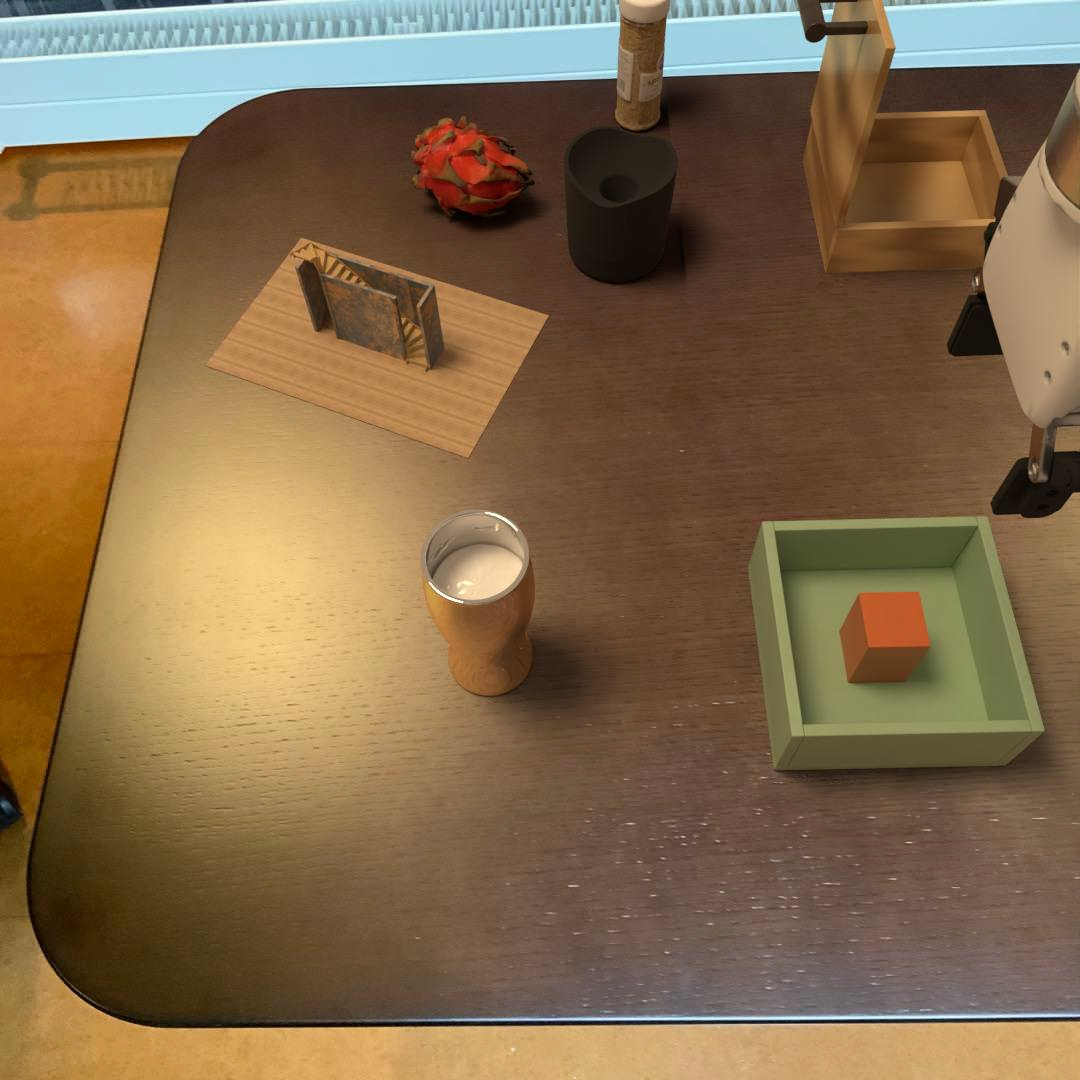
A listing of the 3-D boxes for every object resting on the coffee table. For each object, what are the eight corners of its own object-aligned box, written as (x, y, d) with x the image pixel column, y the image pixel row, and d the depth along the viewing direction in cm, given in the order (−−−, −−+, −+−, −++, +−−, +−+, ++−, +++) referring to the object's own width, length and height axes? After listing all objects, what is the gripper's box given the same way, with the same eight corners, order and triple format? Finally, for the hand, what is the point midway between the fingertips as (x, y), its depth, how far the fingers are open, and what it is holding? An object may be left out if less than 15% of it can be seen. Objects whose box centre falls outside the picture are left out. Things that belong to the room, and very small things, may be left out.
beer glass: (427, 684, 74) (397, 586, 62) (464, 601, 78) (443, 492, 65) (518, 715, 73) (508, 622, 60) (552, 630, 76) (549, 524, 63)
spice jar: (659, 133, 103) (671, 4, 91) (613, 132, 103) (618, 3, 92) (660, 103, 105) (671, -27, 94) (614, 102, 106) (620, -28, 94)
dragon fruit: (412, 192, 102) (527, 233, 101) (383, 201, 94) (507, 245, 94) (434, 101, 98) (554, 143, 98) (405, 103, 91) (534, 148, 90)
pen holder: (631, 199, 99) (637, 108, 90) (688, 261, 94) (700, 172, 86) (545, 237, 96) (542, 148, 88) (599, 303, 92) (602, 215, 84)
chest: (964, 161, 100) (985, 109, 95) (1000, 274, 93) (1025, 224, 88) (800, 166, 100) (813, 114, 95) (823, 279, 93) (838, 229, 88)
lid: (861, -72, 81) (792, -70, 81) (896, 47, 73) (820, 50, 73) (817, 110, 95) (759, 112, 95) (843, 225, 88) (779, 227, 88)
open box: (956, 563, 78) (987, 515, 72) (1005, 765, 71) (1045, 731, 65) (747, 567, 79) (761, 520, 73) (773, 770, 71) (791, 736, 65)
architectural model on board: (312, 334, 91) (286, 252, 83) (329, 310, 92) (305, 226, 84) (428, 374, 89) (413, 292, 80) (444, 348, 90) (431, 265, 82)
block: (895, 629, 75) (919, 591, 70) (905, 682, 73) (931, 646, 68) (838, 630, 75) (858, 592, 70) (847, 683, 73) (868, 647, 68)
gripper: (1366, 327, 33) (1125, 576, 48) (1188, -5, 42) (1030, 293, 57) (1128, 336, 34) (961, 582, 48) (999, 4, 42) (891, 299, 57)
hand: (998, 426), depth 53 cm, fingers open, 9 cm apart
